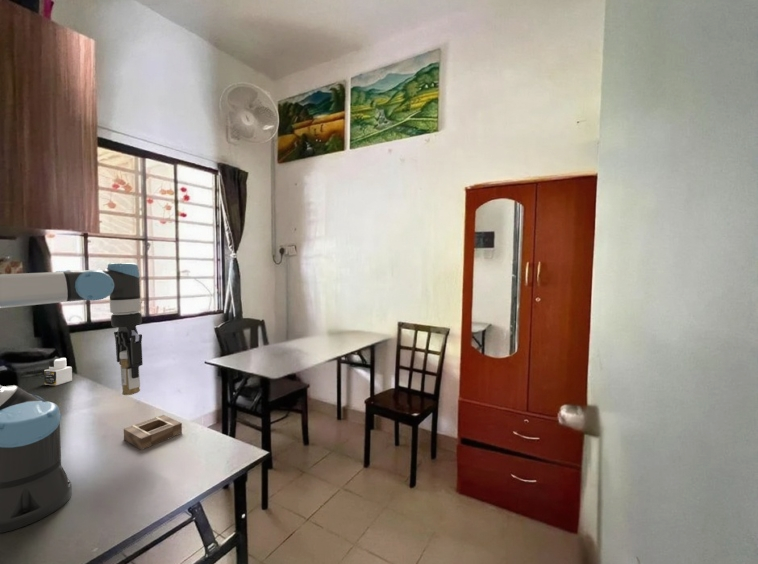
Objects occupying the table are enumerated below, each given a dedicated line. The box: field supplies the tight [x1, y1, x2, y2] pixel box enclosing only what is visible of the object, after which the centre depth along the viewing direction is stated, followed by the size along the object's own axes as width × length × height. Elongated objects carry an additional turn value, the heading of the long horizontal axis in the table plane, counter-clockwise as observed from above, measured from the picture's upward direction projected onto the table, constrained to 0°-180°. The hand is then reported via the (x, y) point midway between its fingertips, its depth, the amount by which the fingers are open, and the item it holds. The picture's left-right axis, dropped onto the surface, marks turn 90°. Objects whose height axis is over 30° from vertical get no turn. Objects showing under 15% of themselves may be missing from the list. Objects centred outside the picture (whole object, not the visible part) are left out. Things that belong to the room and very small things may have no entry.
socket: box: [123, 414, 183, 451], centre depth 108 cm, size 12×12×4 cm
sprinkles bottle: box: [120, 350, 141, 396], centre depth 101 cm, size 5×5×13 cm
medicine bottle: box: [43, 357, 73, 386], centre depth 159 cm, size 7×7×12 cm
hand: (130, 386), depth 102 cm, fingers closed on sprinkles bottle, 4 cm apart
